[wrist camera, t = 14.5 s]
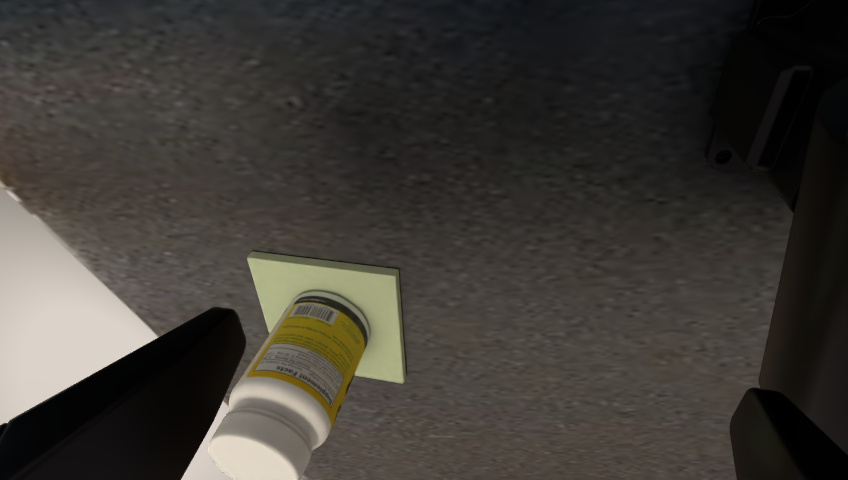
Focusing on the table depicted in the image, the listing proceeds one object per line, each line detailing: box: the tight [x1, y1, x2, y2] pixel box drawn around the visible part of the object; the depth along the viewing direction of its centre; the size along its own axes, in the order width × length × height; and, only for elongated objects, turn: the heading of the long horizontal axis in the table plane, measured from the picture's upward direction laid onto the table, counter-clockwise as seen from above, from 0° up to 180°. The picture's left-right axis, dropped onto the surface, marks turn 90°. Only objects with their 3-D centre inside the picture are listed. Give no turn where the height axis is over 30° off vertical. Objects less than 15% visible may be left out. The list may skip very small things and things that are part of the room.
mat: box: [247, 251, 406, 383], centre depth 26 cm, size 8×8×1 cm
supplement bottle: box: [208, 292, 369, 480], centre depth 23 cm, size 5×5×8 cm
